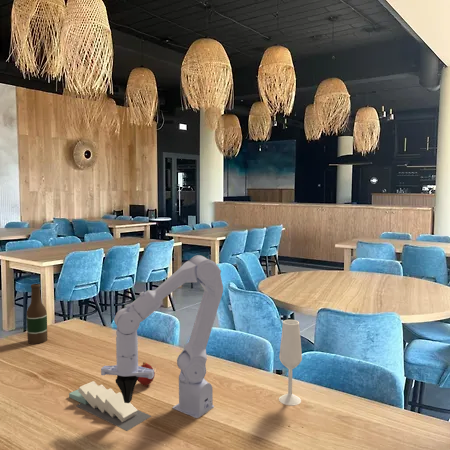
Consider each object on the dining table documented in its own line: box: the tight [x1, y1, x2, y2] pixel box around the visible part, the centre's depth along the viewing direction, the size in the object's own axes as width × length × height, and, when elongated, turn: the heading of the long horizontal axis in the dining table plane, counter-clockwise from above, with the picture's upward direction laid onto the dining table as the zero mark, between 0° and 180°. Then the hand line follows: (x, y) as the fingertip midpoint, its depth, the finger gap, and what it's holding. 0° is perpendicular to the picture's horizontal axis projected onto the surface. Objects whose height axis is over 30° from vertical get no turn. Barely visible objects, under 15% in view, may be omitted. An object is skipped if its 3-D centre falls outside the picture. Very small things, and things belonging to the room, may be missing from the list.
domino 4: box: [95, 387, 117, 418], centre depth 122 cm, size 2×5×8 cm
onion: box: [137, 361, 156, 387], centre depth 138 cm, size 6×6×8 cm
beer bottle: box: [26, 283, 48, 345], centre depth 178 cm, size 8×8×24 cm
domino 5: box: [105, 391, 139, 422], centre depth 120 cm, size 2×5×8 cm
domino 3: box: [87, 384, 107, 413], centre depth 125 cm, size 2×5×8 cm
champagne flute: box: [278, 319, 303, 406], centre depth 128 cm, size 7×7×24 cm
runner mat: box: [75, 403, 152, 432], centre depth 122 cm, size 22×9×1 cm, turn 54°
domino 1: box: [68, 388, 88, 405], centre depth 130 cm, size 2×5×8 cm
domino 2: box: [77, 380, 99, 409], centre depth 127 cm, size 2×5×8 cm
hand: (128, 401), depth 118 cm, fingers closed
